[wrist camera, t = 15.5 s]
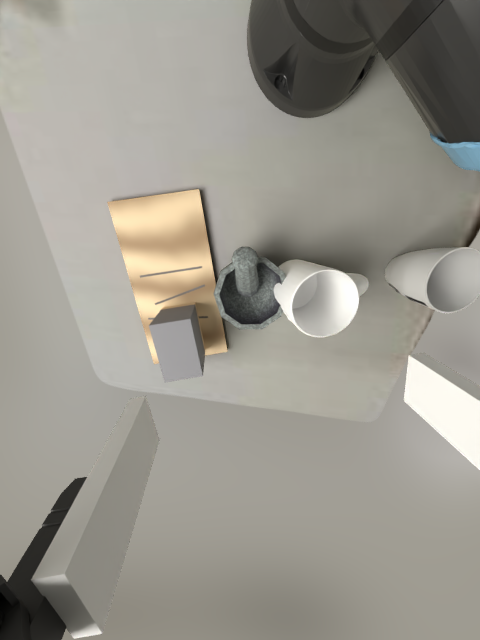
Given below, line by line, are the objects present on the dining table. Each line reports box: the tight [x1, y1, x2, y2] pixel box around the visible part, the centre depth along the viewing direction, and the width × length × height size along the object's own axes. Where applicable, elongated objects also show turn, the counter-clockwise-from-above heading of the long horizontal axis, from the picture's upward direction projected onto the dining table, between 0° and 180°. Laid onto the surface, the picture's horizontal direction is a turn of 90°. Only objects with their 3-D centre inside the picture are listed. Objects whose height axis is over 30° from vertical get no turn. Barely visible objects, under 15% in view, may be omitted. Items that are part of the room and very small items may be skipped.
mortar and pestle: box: [214, 247, 286, 329], centre depth 32 cm, size 11×9×12 cm
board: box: [107, 189, 228, 364], centre depth 37 cm, size 24×12×1 cm, turn 8°
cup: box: [385, 247, 480, 313], centre depth 35 cm, size 8×8×10 cm
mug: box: [274, 259, 369, 337], centre depth 33 cm, size 8×12×12 cm
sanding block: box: [149, 302, 205, 382], centre depth 35 cm, size 8×5×8 cm, turn 8°
